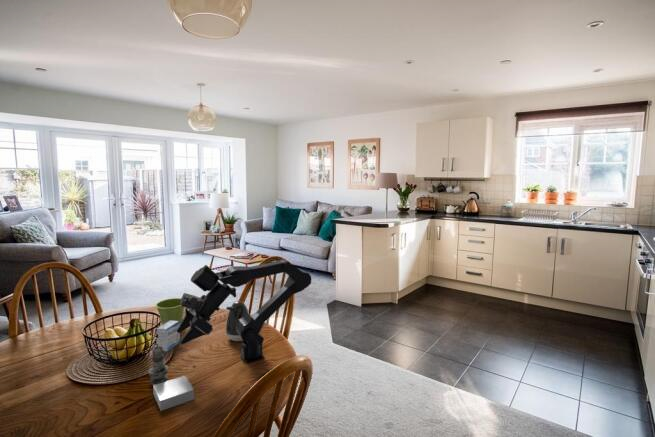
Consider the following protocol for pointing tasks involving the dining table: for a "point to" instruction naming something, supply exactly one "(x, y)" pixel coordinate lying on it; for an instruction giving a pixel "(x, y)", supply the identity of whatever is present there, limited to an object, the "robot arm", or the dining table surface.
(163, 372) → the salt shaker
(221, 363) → the dining table surface
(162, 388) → the rectangular block
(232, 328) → the pump dispenser
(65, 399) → the dining table surface
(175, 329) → the medicine box
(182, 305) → the robot arm
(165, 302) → the plant pot
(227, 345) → the dining table surface
